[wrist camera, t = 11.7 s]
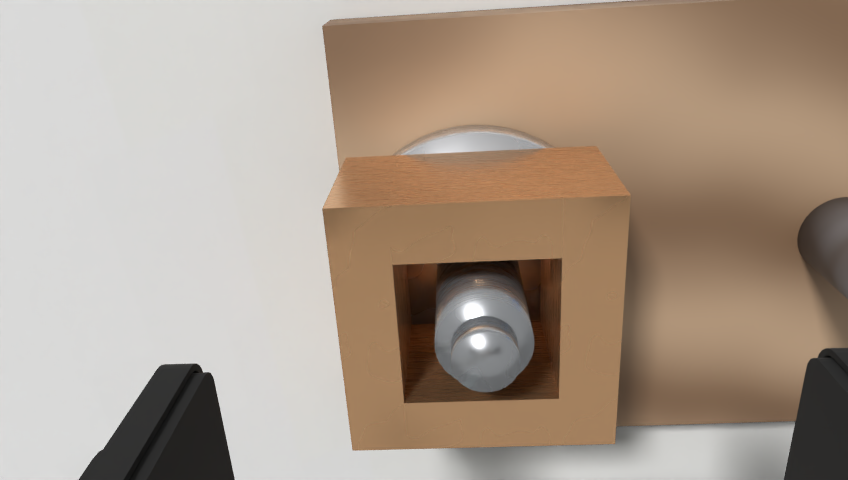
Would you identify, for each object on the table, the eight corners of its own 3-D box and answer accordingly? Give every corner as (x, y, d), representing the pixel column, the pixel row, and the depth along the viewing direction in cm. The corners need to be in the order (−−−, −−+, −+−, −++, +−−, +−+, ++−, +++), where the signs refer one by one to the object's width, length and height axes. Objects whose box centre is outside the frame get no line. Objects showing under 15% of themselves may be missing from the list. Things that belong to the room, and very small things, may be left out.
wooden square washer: (587, 359, 22) (615, 443, 18) (368, 366, 22) (352, 450, 19) (596, 145, 19) (630, 195, 16) (345, 157, 20) (322, 208, 16)
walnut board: (897, 390, 25) (1022, 518, 20) (374, 407, 26) (354, 533, 21) (1000, -23, 20) (1215, -6, 14) (330, 19, 21) (288, 51, 15)
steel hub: (600, 353, 23) (650, 492, 17) (361, 362, 24) (333, 500, 18) (611, 117, 20) (676, 191, 14) (334, 132, 20) (290, 210, 15)
